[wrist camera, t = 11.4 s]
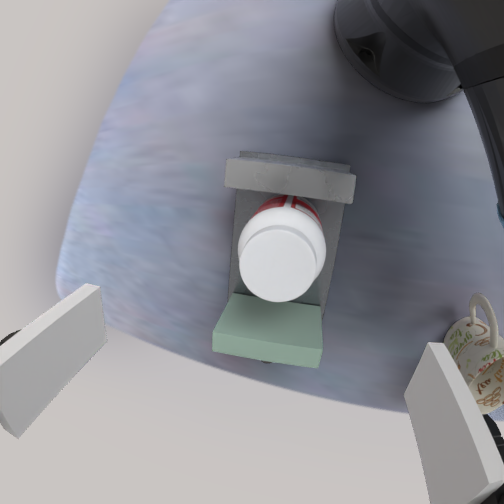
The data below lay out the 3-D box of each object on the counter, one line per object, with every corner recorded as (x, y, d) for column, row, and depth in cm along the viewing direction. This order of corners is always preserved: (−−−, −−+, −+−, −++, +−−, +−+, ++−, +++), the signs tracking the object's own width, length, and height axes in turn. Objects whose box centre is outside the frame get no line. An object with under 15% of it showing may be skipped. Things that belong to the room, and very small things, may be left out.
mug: (435, 372, 33) (459, 426, 24) (428, 289, 30) (464, 338, 21) (488, 350, 31) (520, 397, 22) (488, 266, 28) (535, 304, 19)
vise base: (243, 151, 29) (220, 151, 21) (348, 164, 28) (364, 169, 20) (228, 332, 36) (207, 378, 28) (314, 345, 34) (313, 396, 26)
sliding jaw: (232, 292, 32) (212, 331, 25) (320, 306, 31) (323, 349, 24) (228, 347, 34) (210, 390, 27) (308, 360, 33) (306, 407, 26)
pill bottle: (250, 250, 30) (221, 302, 20) (259, 187, 28) (231, 209, 18) (314, 262, 30) (317, 321, 19) (326, 199, 28) (339, 227, 17)
